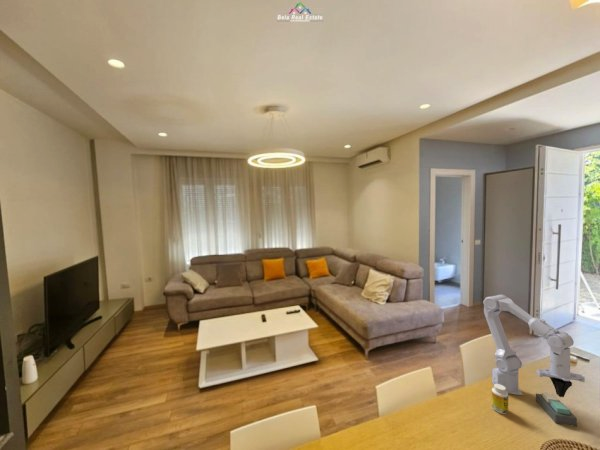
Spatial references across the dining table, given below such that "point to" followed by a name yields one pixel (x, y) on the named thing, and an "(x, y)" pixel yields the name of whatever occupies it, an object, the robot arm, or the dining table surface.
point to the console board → (554, 420)
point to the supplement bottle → (500, 399)
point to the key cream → (550, 397)
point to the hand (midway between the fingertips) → (559, 395)
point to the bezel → (551, 411)
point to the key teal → (559, 407)
